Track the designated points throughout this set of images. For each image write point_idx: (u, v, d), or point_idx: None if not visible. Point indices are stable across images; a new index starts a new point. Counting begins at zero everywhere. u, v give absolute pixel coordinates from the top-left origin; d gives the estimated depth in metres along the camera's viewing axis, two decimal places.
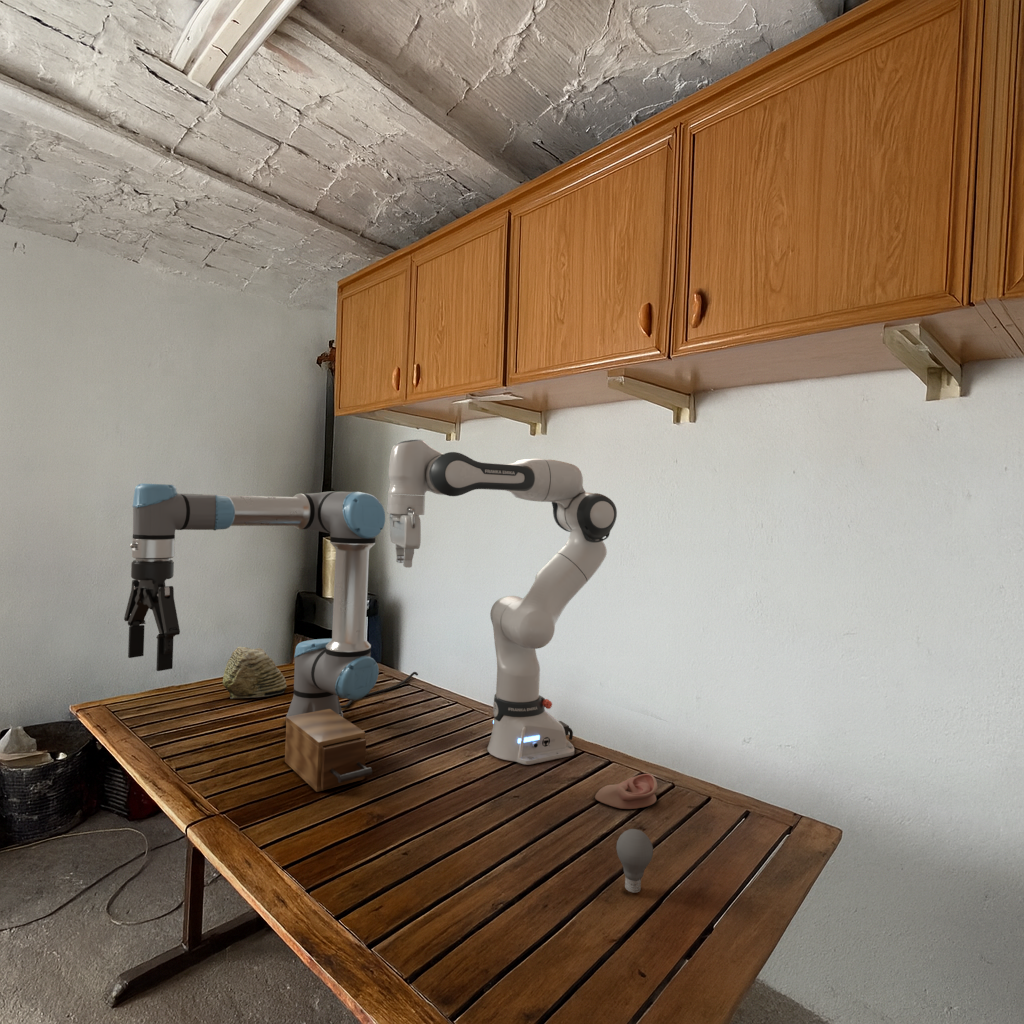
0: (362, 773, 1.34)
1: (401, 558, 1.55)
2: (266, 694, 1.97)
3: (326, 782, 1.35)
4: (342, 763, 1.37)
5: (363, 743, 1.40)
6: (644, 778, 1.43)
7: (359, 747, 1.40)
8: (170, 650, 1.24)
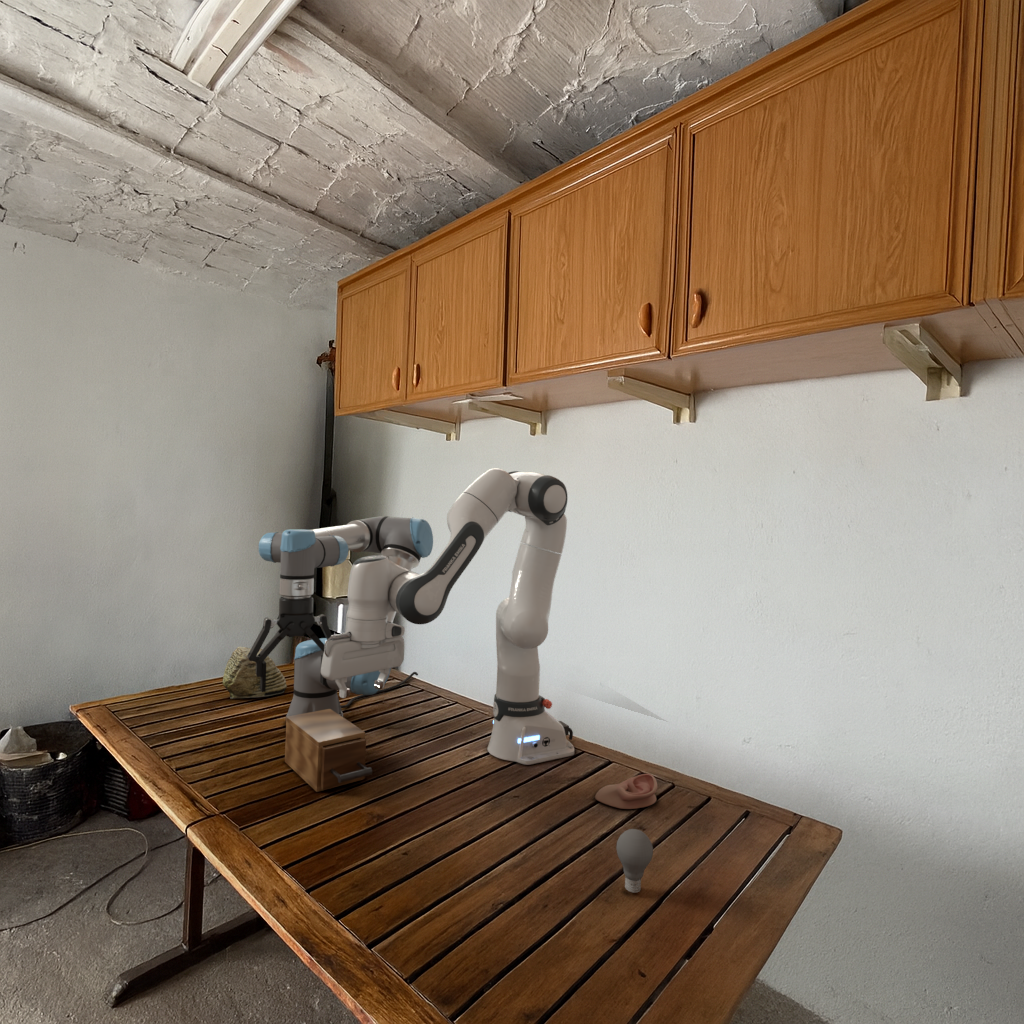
0: (362, 773, 1.34)
1: (377, 683, 1.41)
2: (266, 694, 1.97)
3: (326, 782, 1.35)
4: (342, 763, 1.37)
5: (363, 743, 1.40)
6: (644, 778, 1.43)
7: (359, 747, 1.40)
8: None
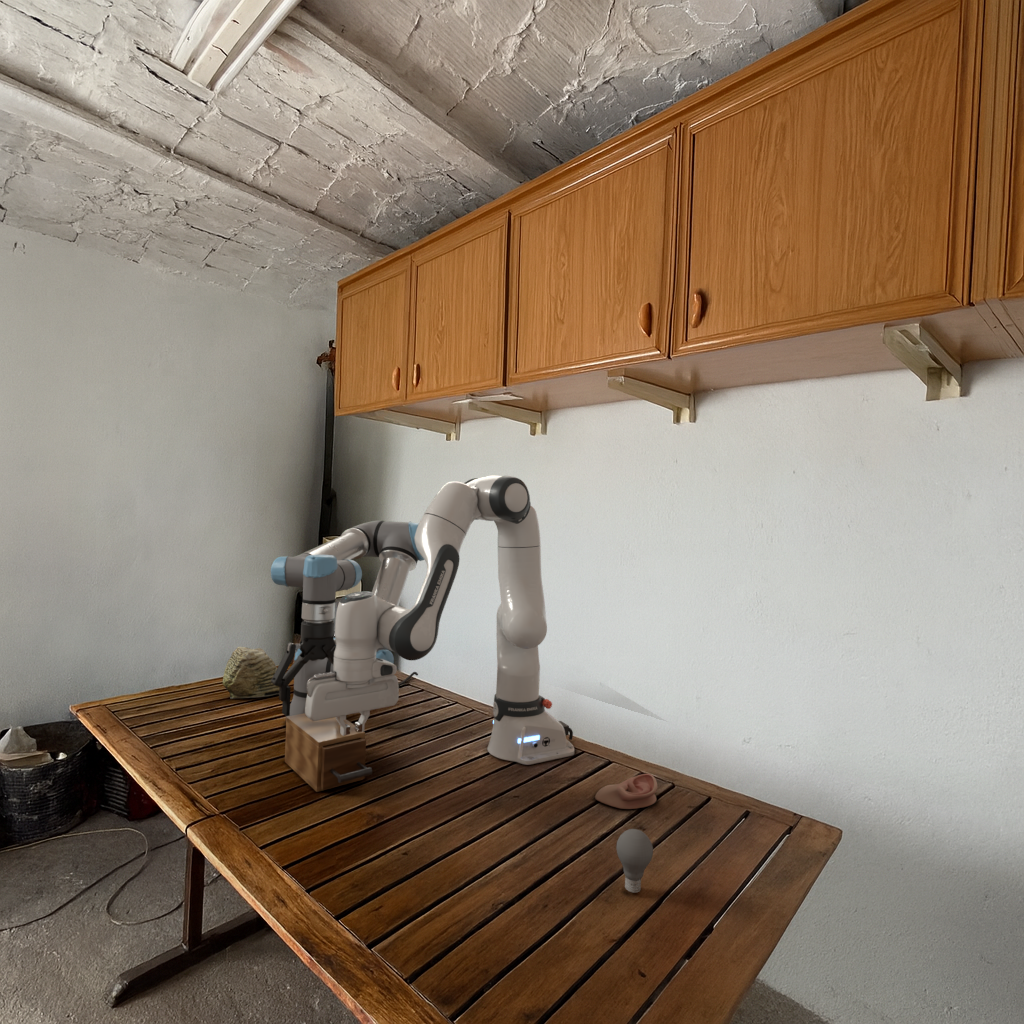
0: (362, 773, 1.34)
1: (356, 726, 1.36)
2: (266, 694, 1.97)
3: (326, 782, 1.35)
4: (342, 763, 1.37)
5: (363, 743, 1.40)
6: (644, 778, 1.43)
7: (359, 747, 1.40)
8: None
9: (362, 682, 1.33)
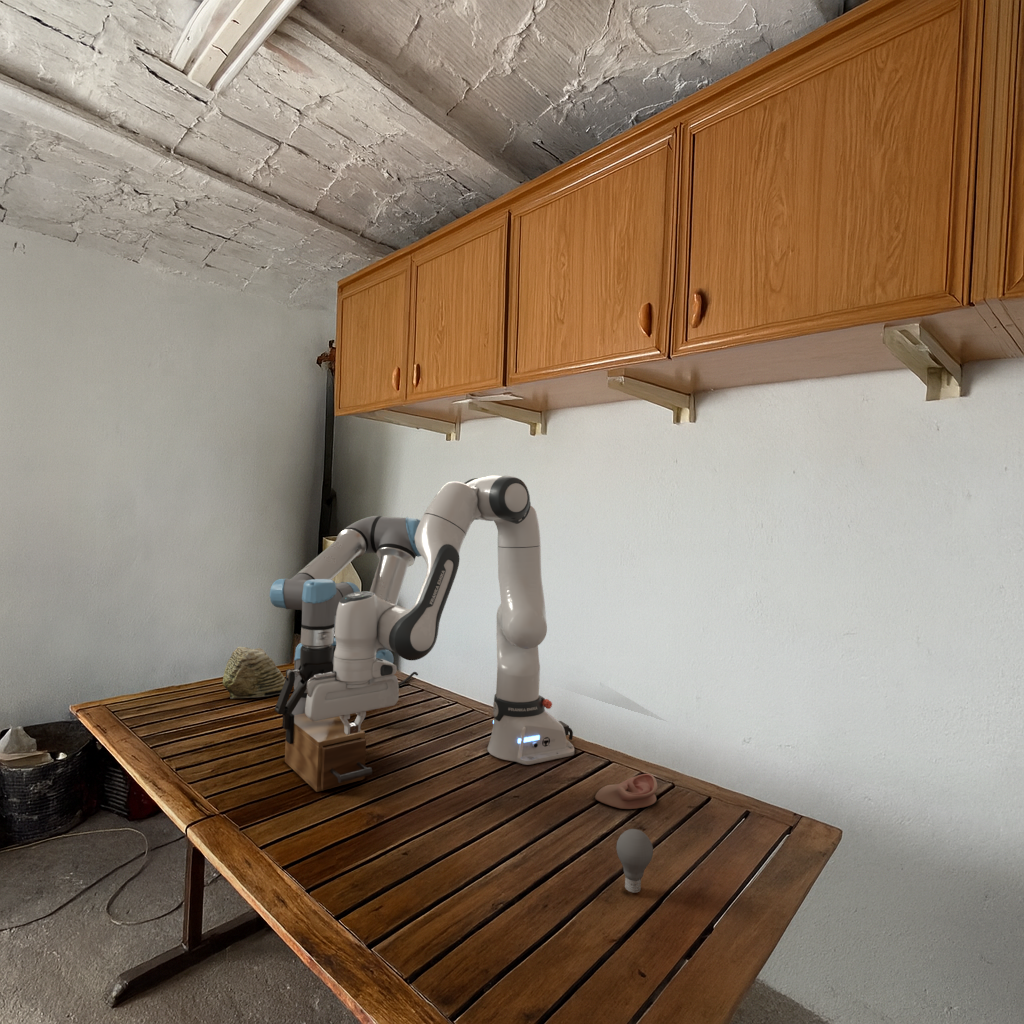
0: (362, 773, 1.34)
1: None
2: (266, 694, 1.97)
3: (326, 782, 1.35)
4: (342, 763, 1.37)
5: (363, 743, 1.40)
6: (644, 778, 1.43)
7: (359, 747, 1.40)
8: None
9: (362, 682, 1.33)
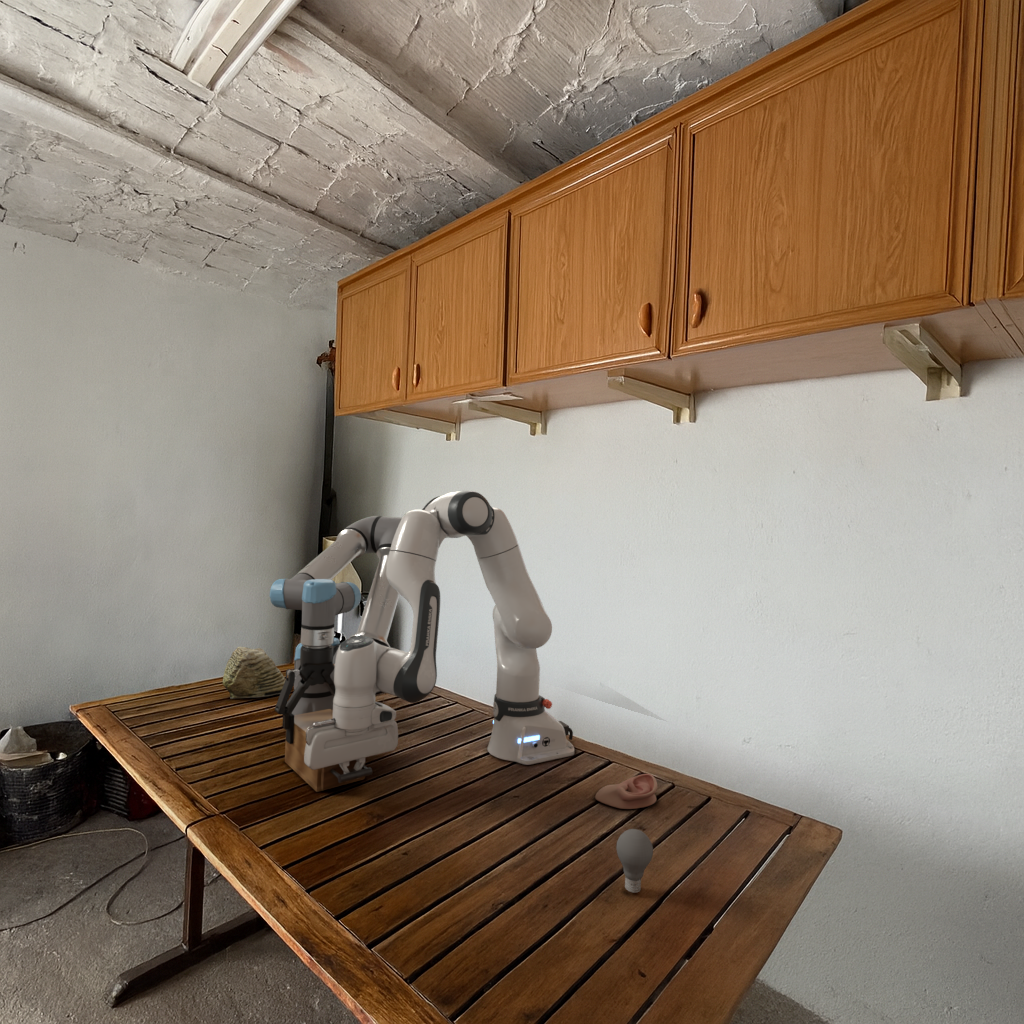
0: (362, 773, 1.34)
1: None
2: (266, 694, 1.97)
3: (326, 782, 1.35)
4: None
5: None
6: (644, 778, 1.43)
7: None
8: None
9: (361, 729, 1.33)
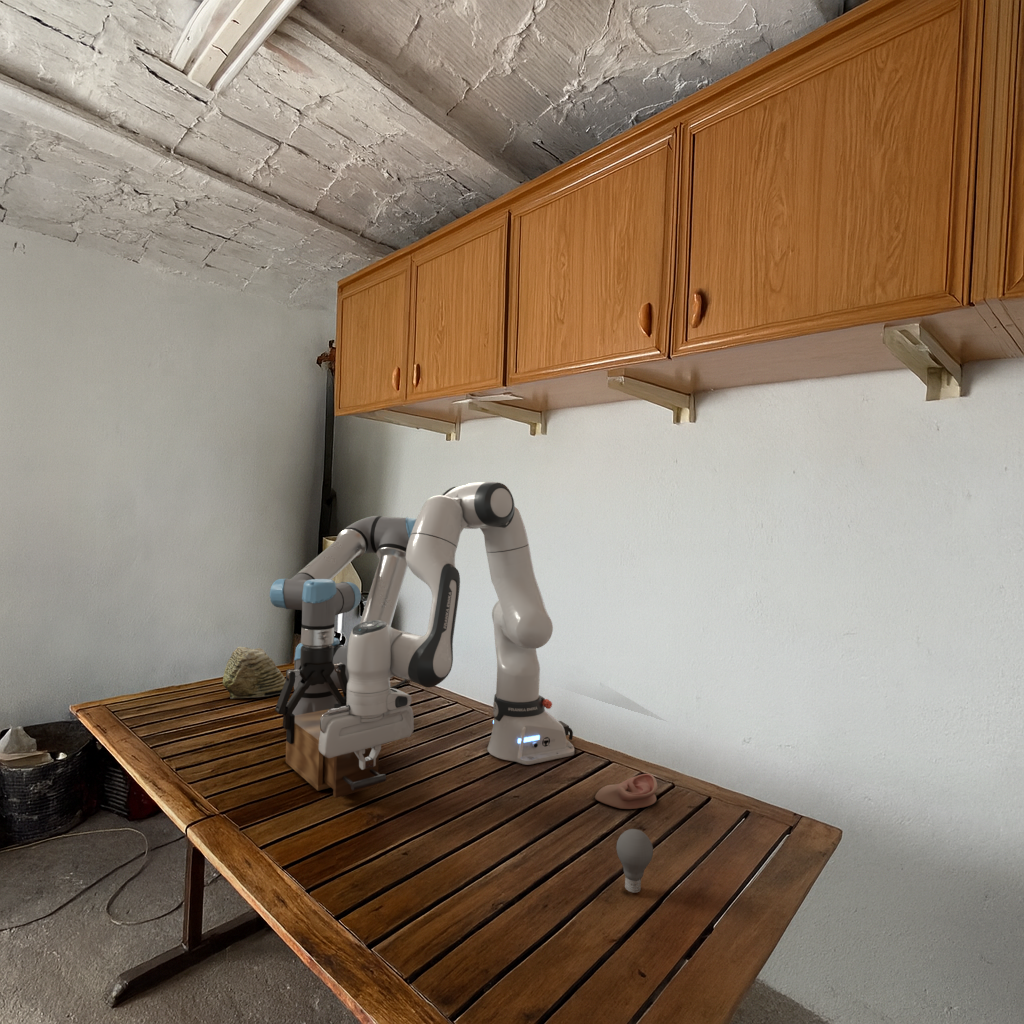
0: (375, 780, 1.30)
1: None
2: (266, 694, 1.97)
3: (339, 790, 1.31)
4: (354, 769, 1.33)
5: None
6: (644, 778, 1.43)
7: None
8: None
9: (377, 715, 1.29)
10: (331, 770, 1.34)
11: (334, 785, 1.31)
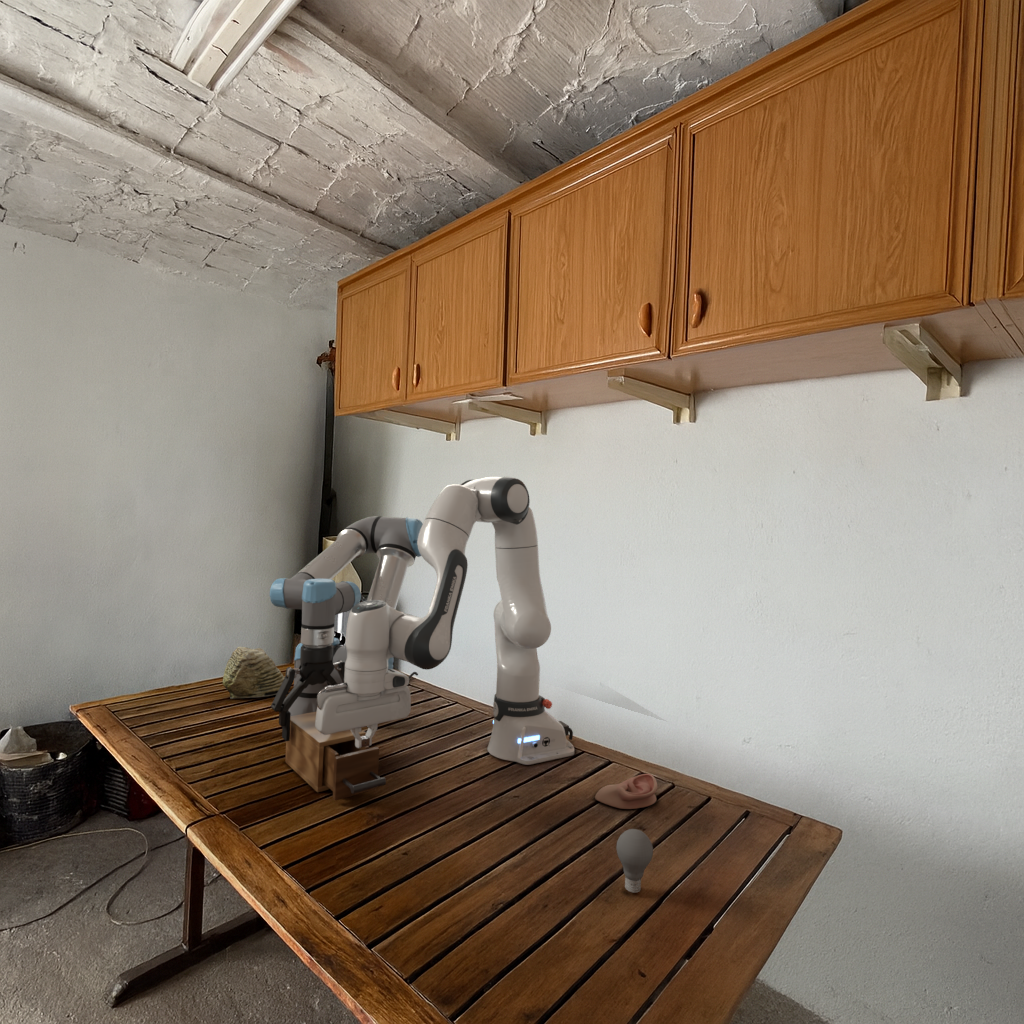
0: (375, 783, 1.30)
1: None
2: (266, 694, 1.97)
3: (338, 793, 1.31)
4: (354, 772, 1.33)
5: (376, 752, 1.36)
6: (644, 778, 1.43)
7: (372, 756, 1.35)
8: None
9: (374, 694, 1.29)
10: (331, 772, 1.34)
11: (334, 788, 1.31)
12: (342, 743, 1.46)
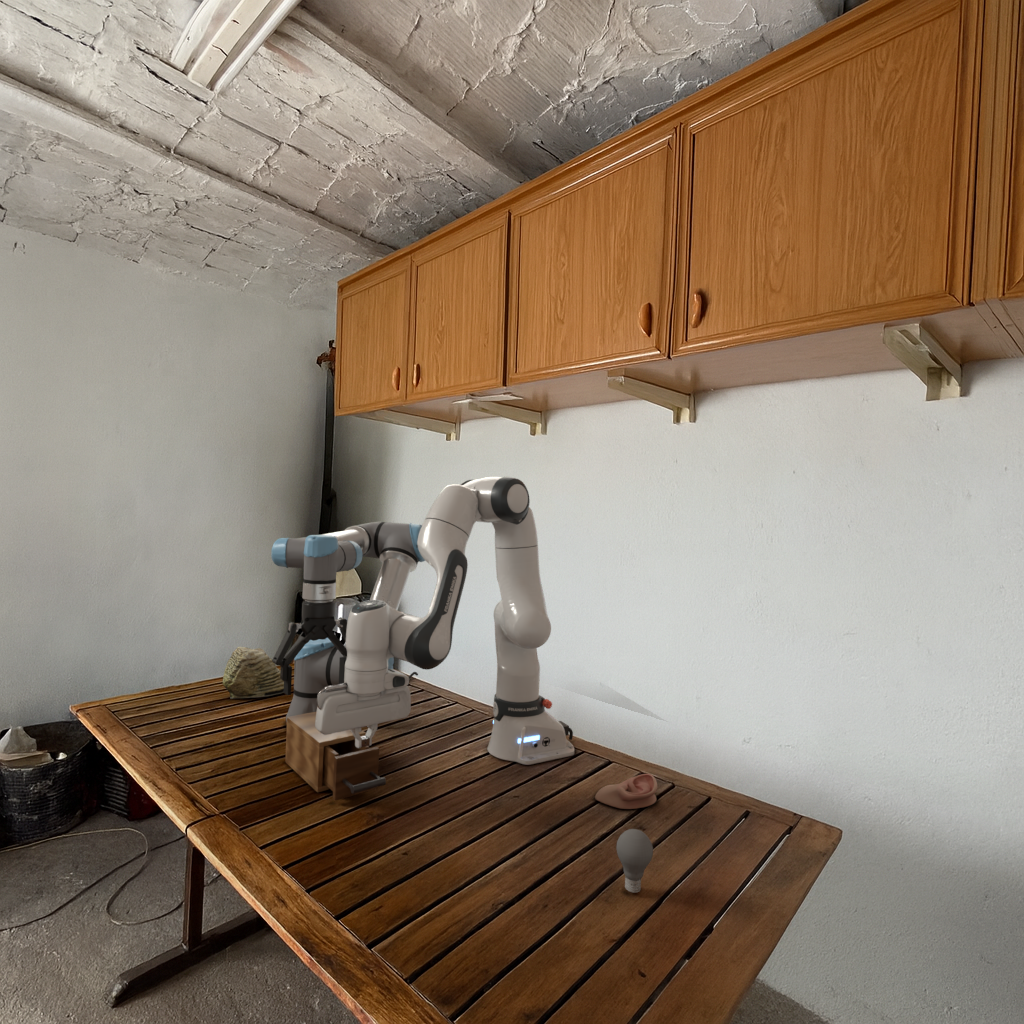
0: (375, 783, 1.30)
1: None
2: (266, 694, 1.97)
3: (338, 793, 1.31)
4: (354, 772, 1.33)
5: (376, 752, 1.36)
6: (644, 778, 1.43)
7: (372, 756, 1.35)
8: None
9: (374, 694, 1.29)
10: (331, 772, 1.34)
11: (334, 788, 1.31)
12: (342, 743, 1.46)
